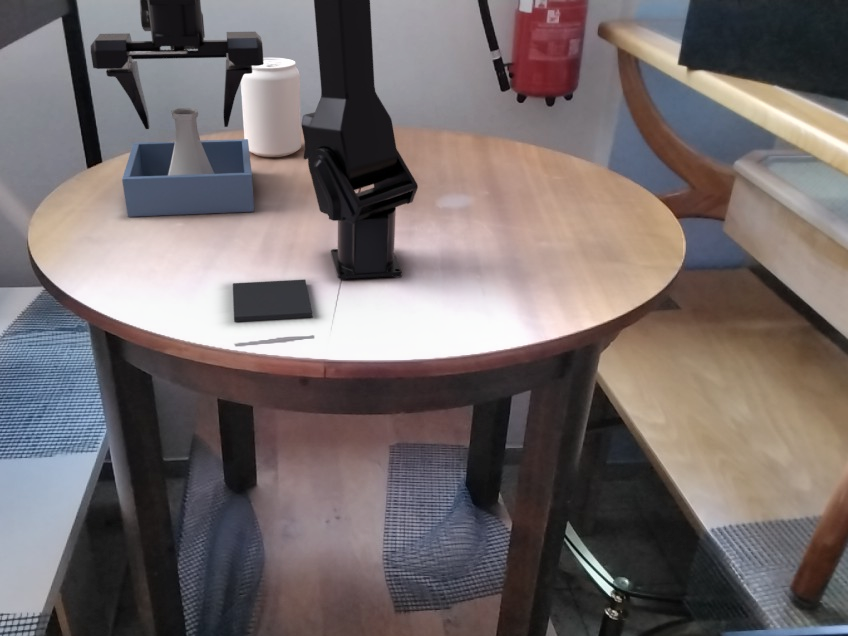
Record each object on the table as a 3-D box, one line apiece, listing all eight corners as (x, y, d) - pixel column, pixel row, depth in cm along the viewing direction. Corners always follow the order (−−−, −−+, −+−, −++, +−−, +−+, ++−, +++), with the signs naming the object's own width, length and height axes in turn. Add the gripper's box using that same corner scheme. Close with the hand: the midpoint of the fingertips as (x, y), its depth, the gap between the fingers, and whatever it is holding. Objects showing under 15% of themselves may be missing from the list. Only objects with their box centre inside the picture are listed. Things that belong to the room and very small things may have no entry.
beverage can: (236, 156, 112) (229, 66, 105) (258, 140, 118) (253, 55, 112) (289, 161, 110) (286, 70, 103) (309, 145, 116) (307, 59, 110)
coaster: (312, 317, 71) (312, 312, 71) (234, 322, 70) (233, 317, 70) (305, 283, 77) (305, 279, 77) (233, 287, 76) (232, 283, 76)
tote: (254, 211, 93) (251, 174, 91) (127, 217, 91) (121, 179, 89) (249, 172, 105) (247, 138, 103) (138, 176, 104) (133, 142, 101)
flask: (228, 185, 101) (222, 104, 96) (214, 204, 95) (207, 120, 90) (173, 182, 102) (163, 102, 96) (155, 202, 96) (144, 118, 90)
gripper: (255, -28, 93) (262, 108, 102) (93, -27, 91) (114, 112, 100) (259, -17, 84) (267, 131, 93) (79, -16, 82) (103, 136, 90)
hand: (187, 127), depth 94 cm, fingers open, 9 cm apart
